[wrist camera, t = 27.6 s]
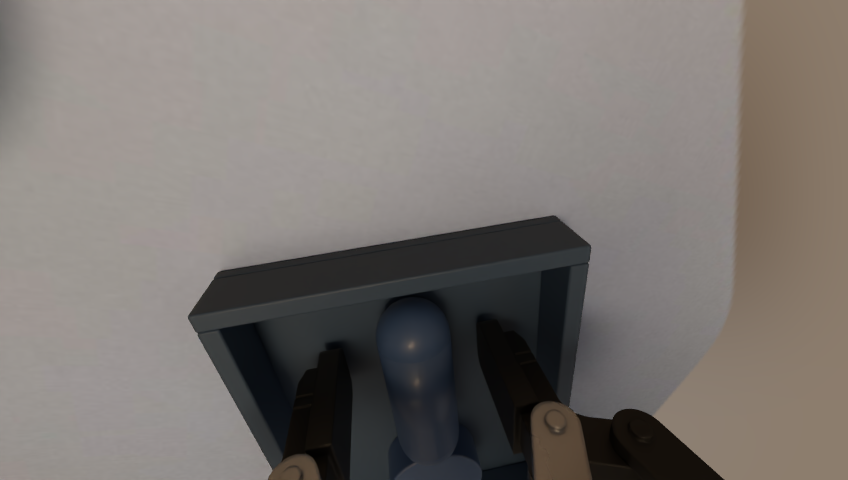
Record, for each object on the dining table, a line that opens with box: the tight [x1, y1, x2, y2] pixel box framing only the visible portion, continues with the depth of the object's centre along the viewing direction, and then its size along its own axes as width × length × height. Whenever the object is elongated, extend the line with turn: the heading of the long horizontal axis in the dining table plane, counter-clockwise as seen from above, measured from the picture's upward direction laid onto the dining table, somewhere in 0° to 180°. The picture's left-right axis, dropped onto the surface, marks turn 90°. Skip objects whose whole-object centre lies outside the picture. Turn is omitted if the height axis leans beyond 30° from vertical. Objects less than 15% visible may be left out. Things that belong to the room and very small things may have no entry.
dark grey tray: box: [188, 216, 591, 480], centre depth 14 cm, size 14×11×2 cm
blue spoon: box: [376, 297, 482, 480], centre depth 13 cm, size 11×4×2 cm, turn 6°
